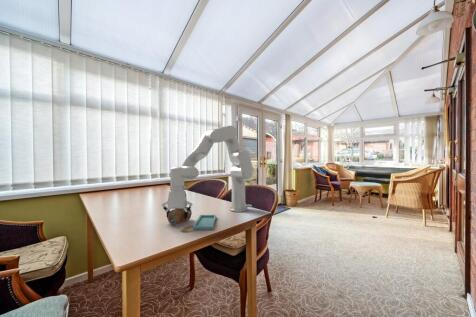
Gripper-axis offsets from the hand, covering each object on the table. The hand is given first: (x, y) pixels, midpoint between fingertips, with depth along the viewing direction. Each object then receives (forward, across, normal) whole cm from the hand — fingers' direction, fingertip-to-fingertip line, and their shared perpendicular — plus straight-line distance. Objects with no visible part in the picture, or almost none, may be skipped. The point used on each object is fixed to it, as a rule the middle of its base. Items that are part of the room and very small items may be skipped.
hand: (177, 218), depth 117 cm
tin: (+3, -2, 0) cm, 3 cm away
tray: (+2, -16, +2) cm, 17 cm away
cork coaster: (+2, -8, +11) cm, 14 cm away
